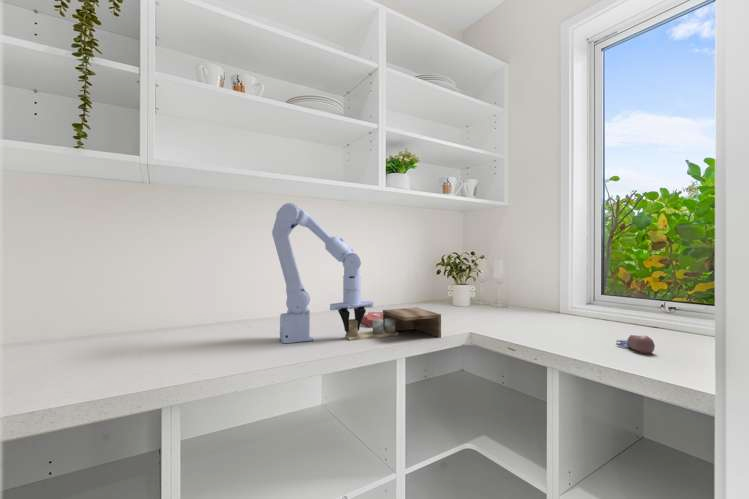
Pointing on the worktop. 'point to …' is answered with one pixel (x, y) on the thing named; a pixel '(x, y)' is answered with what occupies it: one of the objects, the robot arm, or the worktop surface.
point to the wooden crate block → (415, 320)
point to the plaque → (371, 318)
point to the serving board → (369, 334)
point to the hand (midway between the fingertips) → (351, 330)
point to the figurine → (639, 343)
